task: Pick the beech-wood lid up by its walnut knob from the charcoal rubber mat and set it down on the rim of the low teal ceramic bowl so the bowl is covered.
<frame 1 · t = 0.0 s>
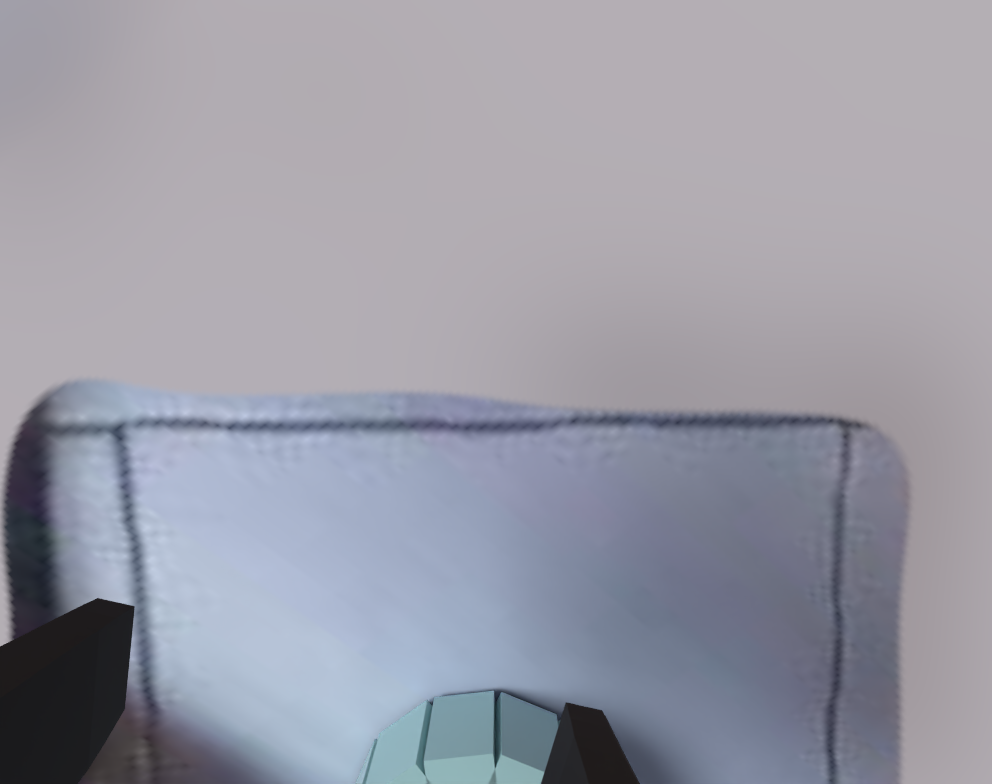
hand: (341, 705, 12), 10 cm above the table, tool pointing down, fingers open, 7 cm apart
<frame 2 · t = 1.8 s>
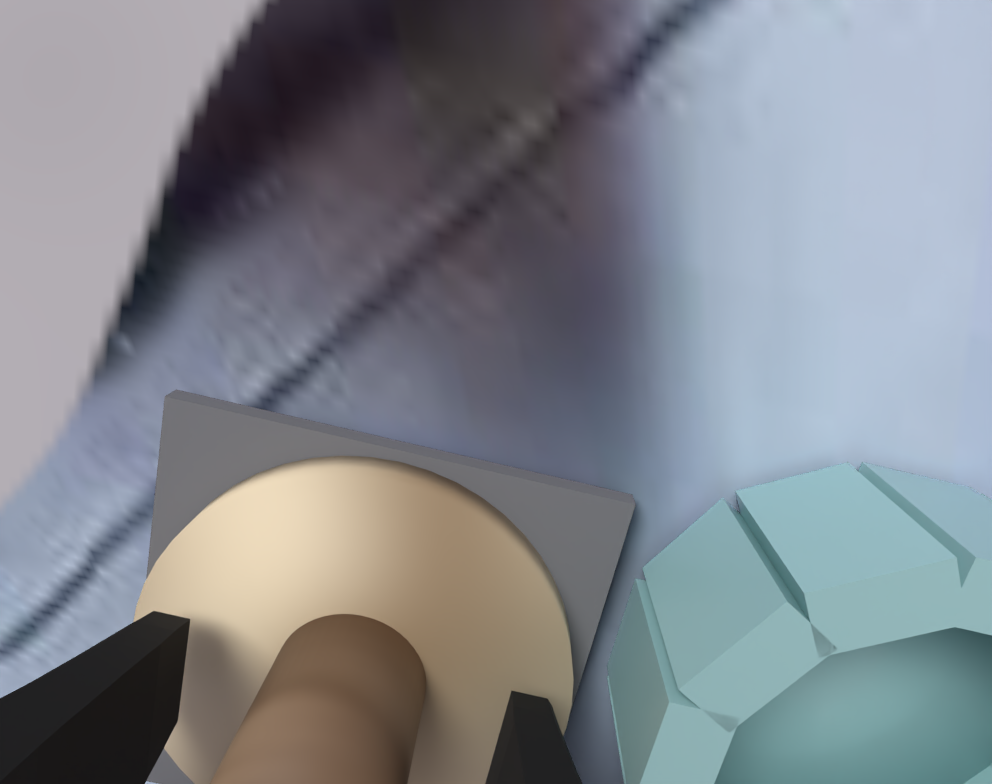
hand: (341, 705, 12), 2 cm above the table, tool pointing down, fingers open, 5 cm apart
bowl: (831, 670, 13), on the table
mat: (365, 637, 13), on the table
lid: (361, 650, 13), resting on mat
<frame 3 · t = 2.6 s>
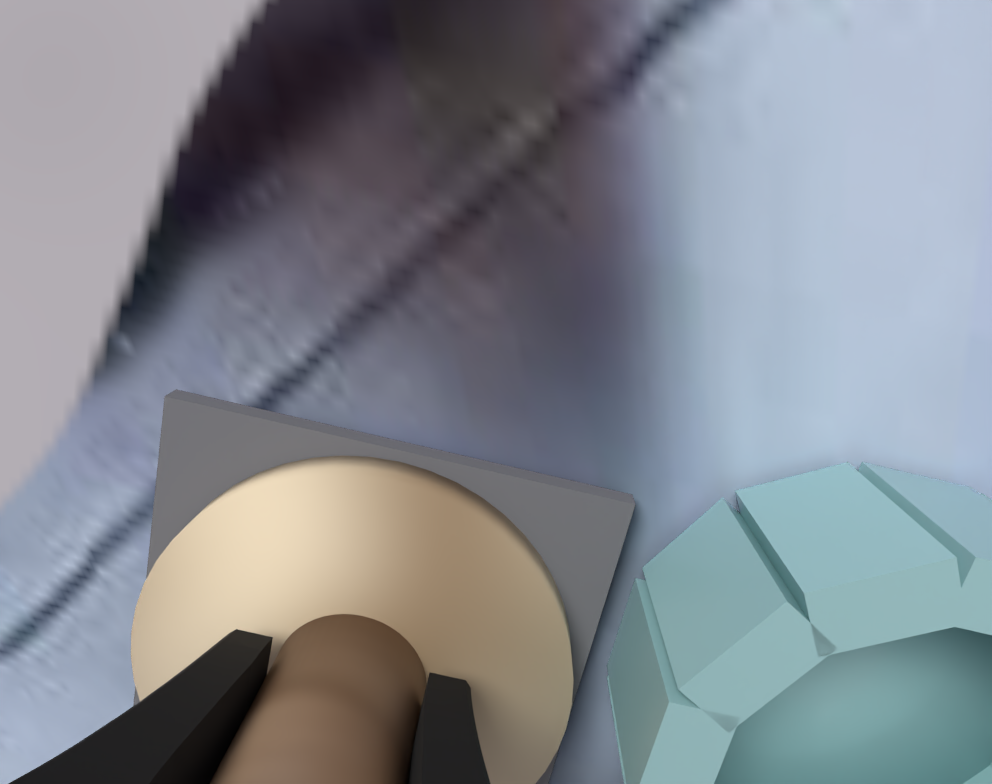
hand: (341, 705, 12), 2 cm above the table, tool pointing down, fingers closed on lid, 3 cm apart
bowl: (831, 670, 13), on the table
mat: (365, 637, 13), on the table
lid: (360, 651, 13), resting on mat, touching gripper
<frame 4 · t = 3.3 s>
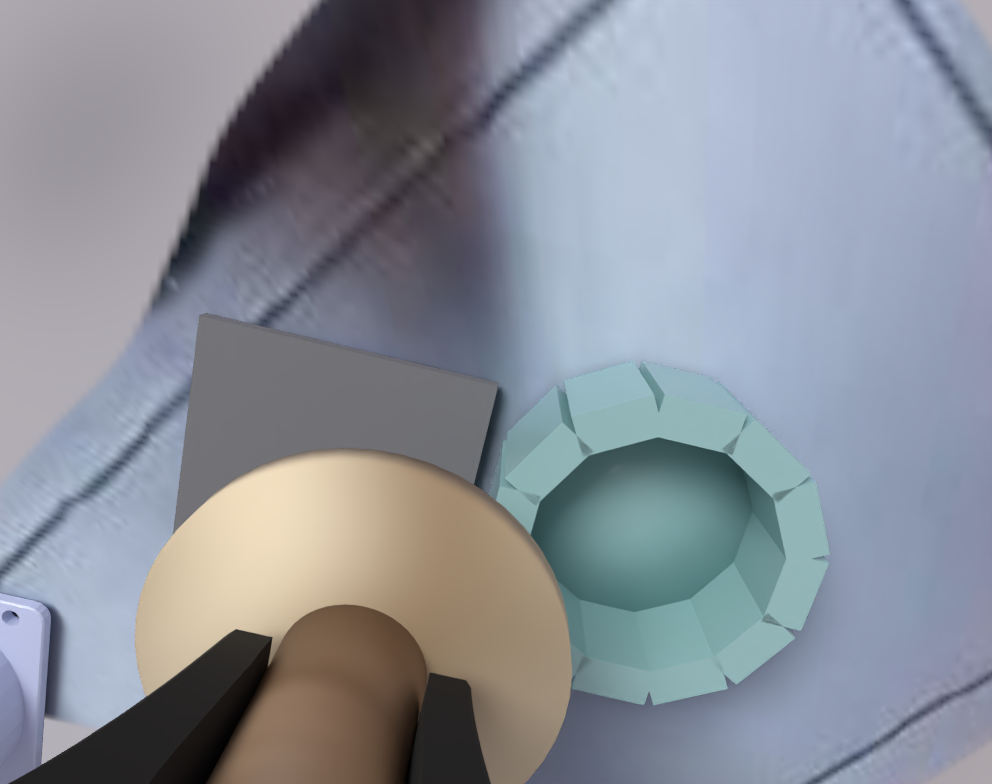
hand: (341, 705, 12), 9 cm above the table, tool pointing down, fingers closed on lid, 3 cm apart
bowl: (633, 503, 20), on the table
mat: (328, 482, 20), on the table
lid: (362, 641, 13), point 7 cm above the table, touching gripper
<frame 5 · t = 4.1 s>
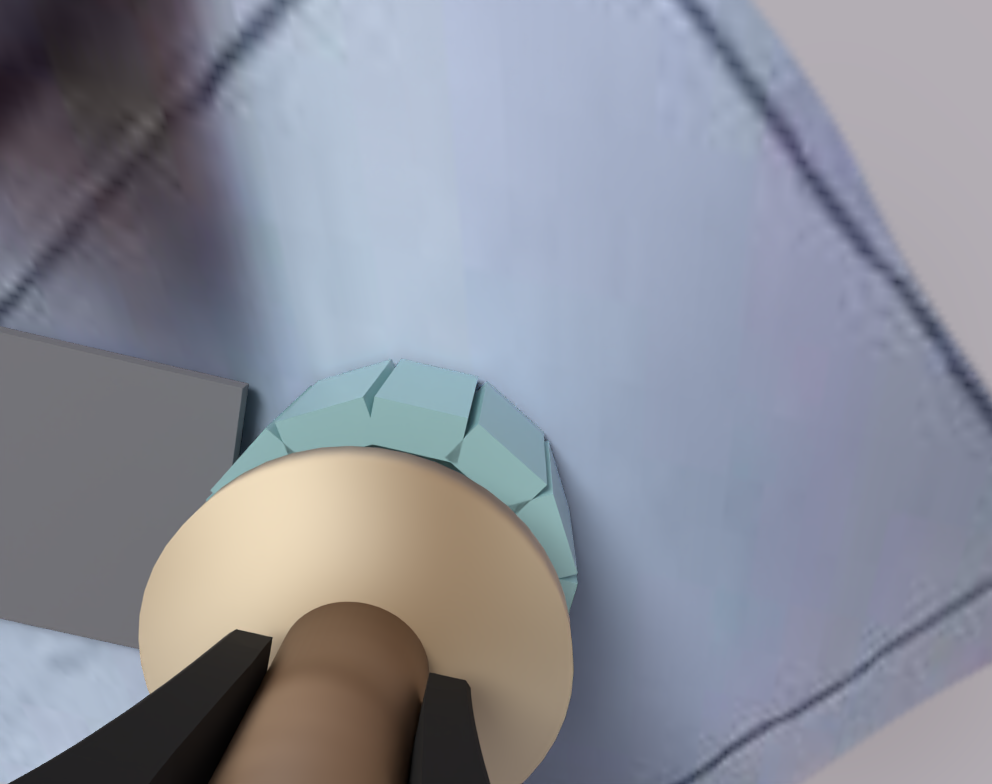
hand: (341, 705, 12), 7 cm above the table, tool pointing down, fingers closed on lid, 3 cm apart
bowl: (408, 514, 18), on the table
mat: (77, 493, 19), on the table
lid: (364, 638, 13), point 5 cm above the table, touching gripper
when the fingers open (6 cm above the table, at t = 4.6 s): lid stays where it is, resting on bowl.
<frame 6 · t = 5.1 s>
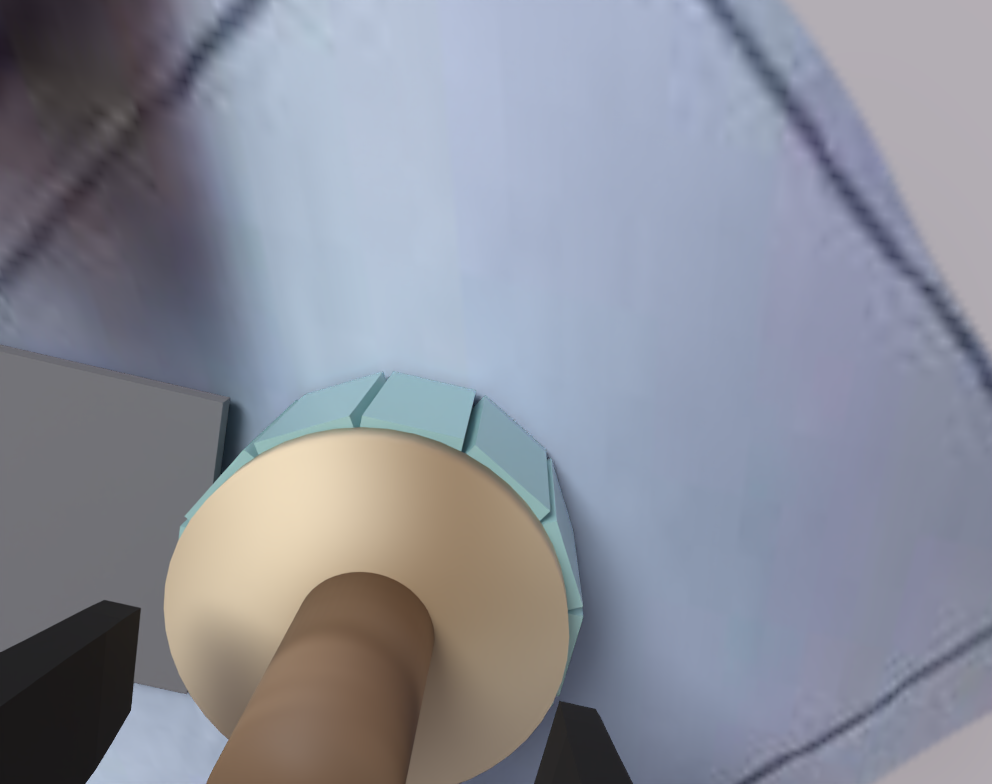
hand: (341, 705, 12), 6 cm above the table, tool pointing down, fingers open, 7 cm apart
bowl: (401, 536, 17), on the table
mat: (49, 513, 18), on the table
lid: (373, 609, 14), point 3 cm above the table, touching bowl
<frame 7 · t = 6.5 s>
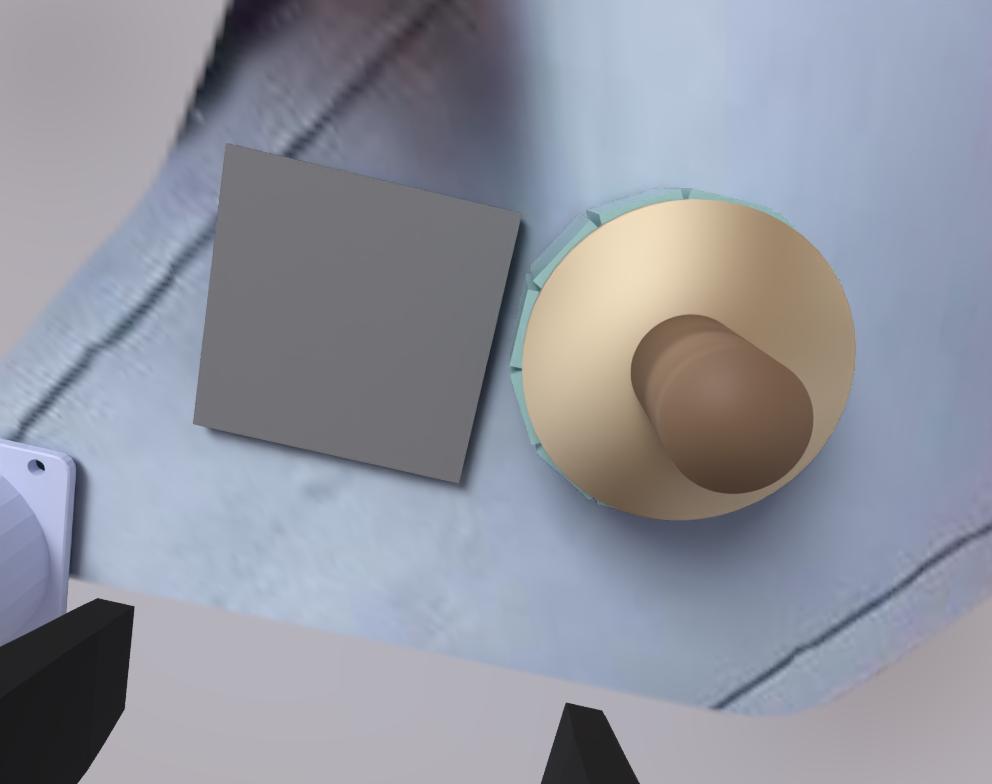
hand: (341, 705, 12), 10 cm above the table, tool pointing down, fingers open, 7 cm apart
bowl: (655, 338, 20), on the table
mat: (352, 321, 21), on the table
lid: (679, 362, 17), point 3 cm above the table, touching bowl
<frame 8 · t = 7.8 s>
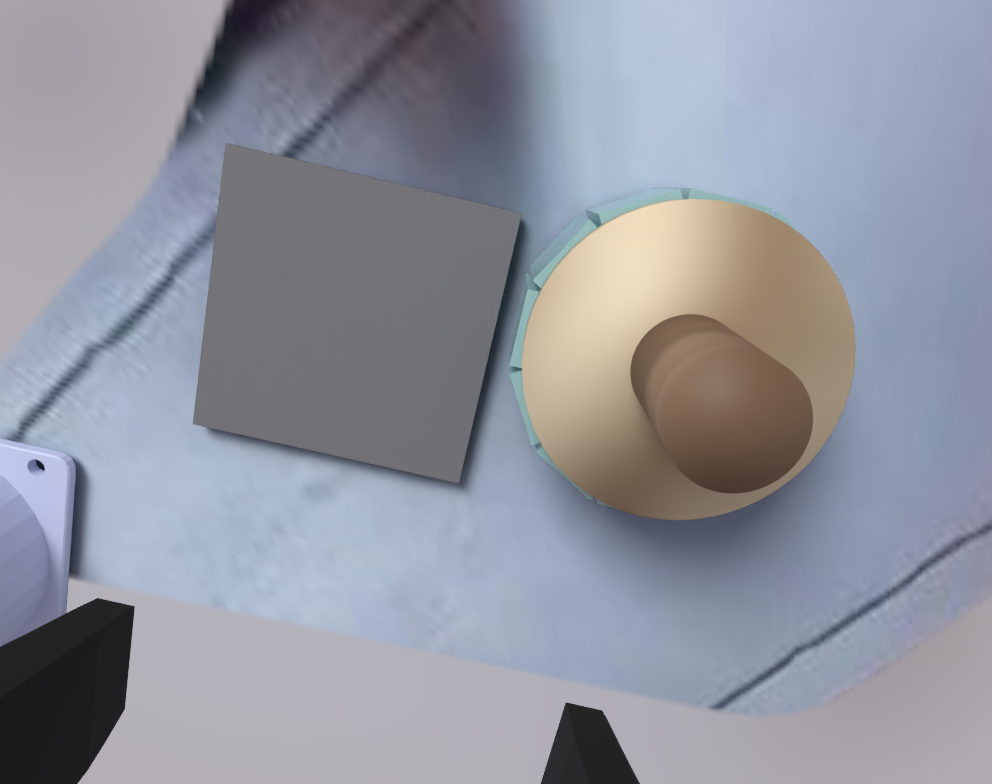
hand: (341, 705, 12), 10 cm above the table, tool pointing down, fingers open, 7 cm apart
bowl: (655, 338, 20), on the table
mat: (352, 321, 21), on the table
lid: (679, 361, 17), point 3 cm above the table, touching bowl
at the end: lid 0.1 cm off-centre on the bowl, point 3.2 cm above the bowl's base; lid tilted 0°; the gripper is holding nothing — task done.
